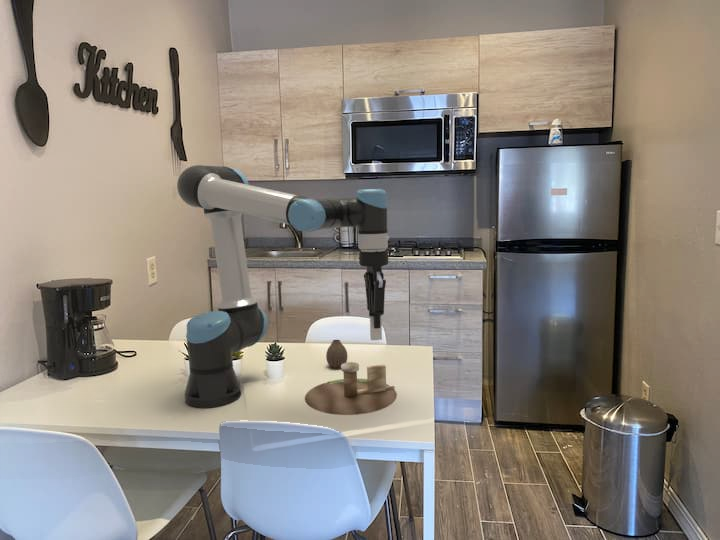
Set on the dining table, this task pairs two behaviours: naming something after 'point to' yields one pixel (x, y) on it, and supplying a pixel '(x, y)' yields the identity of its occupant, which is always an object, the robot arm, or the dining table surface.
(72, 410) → the dining table surface
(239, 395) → the robot arm
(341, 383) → the brown wooden flat disc
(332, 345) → the vase
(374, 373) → the peg lever
